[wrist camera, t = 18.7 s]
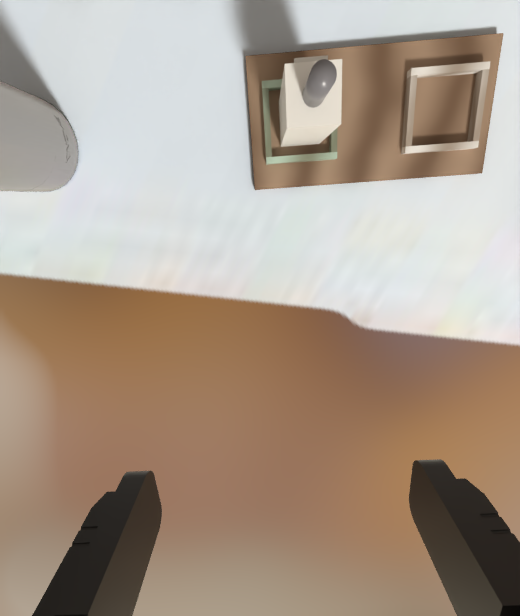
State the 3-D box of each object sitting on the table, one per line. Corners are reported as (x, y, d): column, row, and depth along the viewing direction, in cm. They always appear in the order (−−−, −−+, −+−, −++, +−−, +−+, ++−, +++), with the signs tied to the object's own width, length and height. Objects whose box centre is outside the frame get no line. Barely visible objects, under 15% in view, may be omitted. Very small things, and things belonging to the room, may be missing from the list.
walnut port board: (255, 189, 35) (254, 189, 34) (245, 59, 31) (244, 51, 30) (477, 173, 34) (488, 172, 33) (497, 37, 30) (511, 28, 29)
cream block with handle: (280, 146, 33) (291, 116, 20) (278, 95, 32) (288, 24, 18) (319, 144, 33) (355, 110, 20) (319, 91, 31) (358, 18, 18)
